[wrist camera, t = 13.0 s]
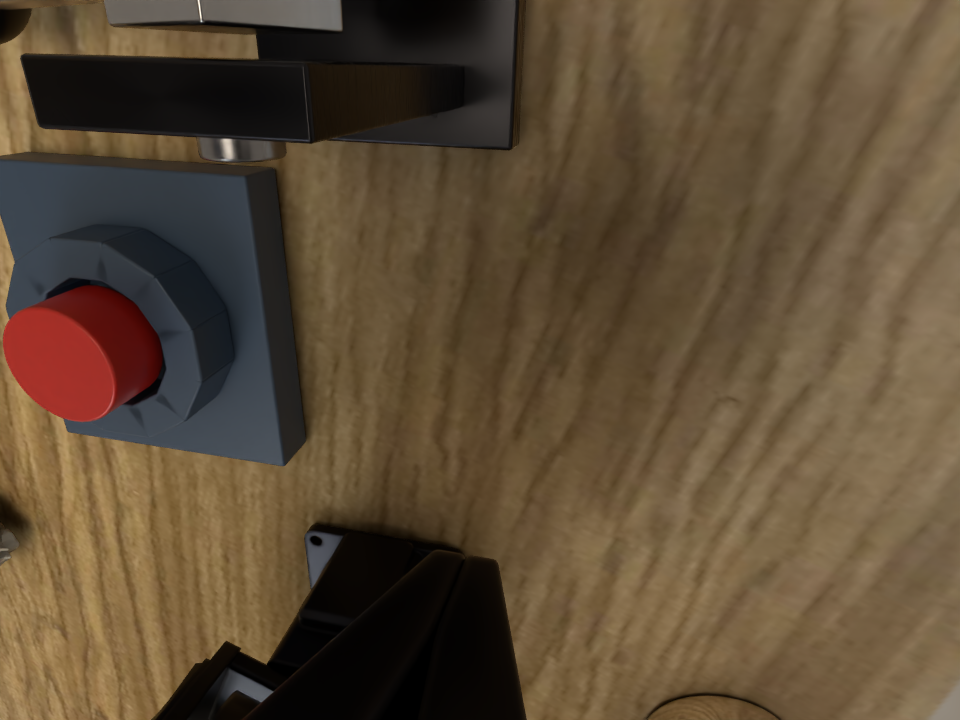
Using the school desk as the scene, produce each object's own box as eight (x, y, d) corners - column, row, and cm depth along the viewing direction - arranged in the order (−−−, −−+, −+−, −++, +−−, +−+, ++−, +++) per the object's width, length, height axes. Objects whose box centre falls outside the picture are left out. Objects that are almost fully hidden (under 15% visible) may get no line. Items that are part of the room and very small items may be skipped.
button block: (307, 441, 23) (257, 499, 20) (100, 410, 25) (25, 459, 22) (275, 167, 19) (207, 186, 16) (28, 151, 21) (-78, 166, 17)
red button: (174, 397, 20) (128, 430, 18) (76, 383, 20) (23, 414, 18) (151, 290, 18) (97, 314, 16) (46, 278, 19) (-16, 301, 17)
